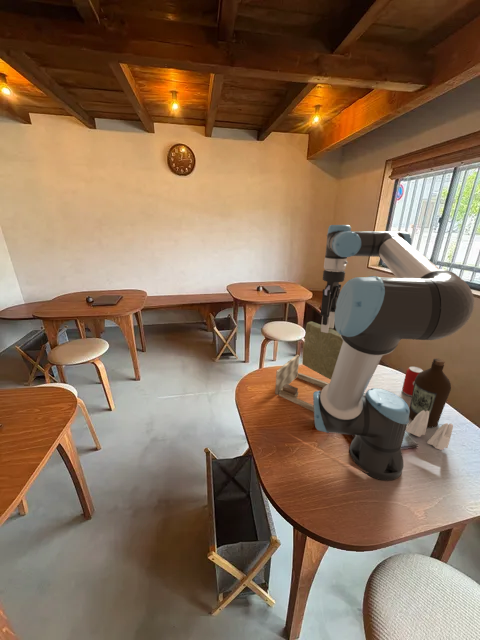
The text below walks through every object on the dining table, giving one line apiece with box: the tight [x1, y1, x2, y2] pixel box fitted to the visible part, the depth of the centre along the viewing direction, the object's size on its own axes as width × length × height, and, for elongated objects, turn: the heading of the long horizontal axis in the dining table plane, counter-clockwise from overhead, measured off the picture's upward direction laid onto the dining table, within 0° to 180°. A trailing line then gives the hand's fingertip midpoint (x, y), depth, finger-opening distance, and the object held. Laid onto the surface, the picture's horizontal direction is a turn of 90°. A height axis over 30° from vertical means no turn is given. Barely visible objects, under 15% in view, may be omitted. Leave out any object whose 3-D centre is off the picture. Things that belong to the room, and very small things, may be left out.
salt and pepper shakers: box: [405, 410, 454, 451], centre depth 89 cm, size 12×4×11 cm, turn 45°
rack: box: [274, 354, 330, 413], centre depth 112 cm, size 19×27×12 cm
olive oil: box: [409, 357, 452, 428], centre depth 96 cm, size 11×11×25 cm
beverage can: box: [401, 366, 424, 398], centre depth 114 cm, size 6×6×12 cm
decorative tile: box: [302, 321, 343, 380], centre depth 108 cm, size 19×6×20 cm, turn 38°
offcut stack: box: [280, 384, 299, 398], centre depth 114 cm, size 3×7×4 cm, turn 52°
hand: (327, 329), depth 104 cm, fingers open, 5 cm apart
